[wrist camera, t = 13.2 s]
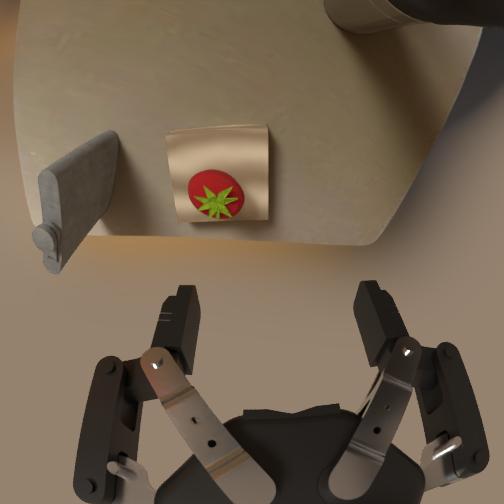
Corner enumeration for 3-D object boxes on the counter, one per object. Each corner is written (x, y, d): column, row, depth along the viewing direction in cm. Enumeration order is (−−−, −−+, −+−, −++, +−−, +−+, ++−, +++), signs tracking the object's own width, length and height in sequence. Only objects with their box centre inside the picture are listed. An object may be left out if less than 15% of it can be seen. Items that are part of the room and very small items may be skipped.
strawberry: (206, 149, 36) (194, 173, 28) (253, 175, 39) (255, 206, 31) (187, 183, 39) (171, 216, 31) (232, 206, 42) (228, 244, 34)
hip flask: (103, 128, 37) (25, 176, 21) (125, 133, 38) (51, 184, 22) (92, 209, 46) (36, 281, 30) (110, 215, 47) (58, 291, 31)
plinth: (172, 130, 38) (165, 135, 35) (266, 124, 38) (268, 129, 35) (183, 210, 46) (178, 222, 43) (266, 207, 46) (268, 219, 43)
